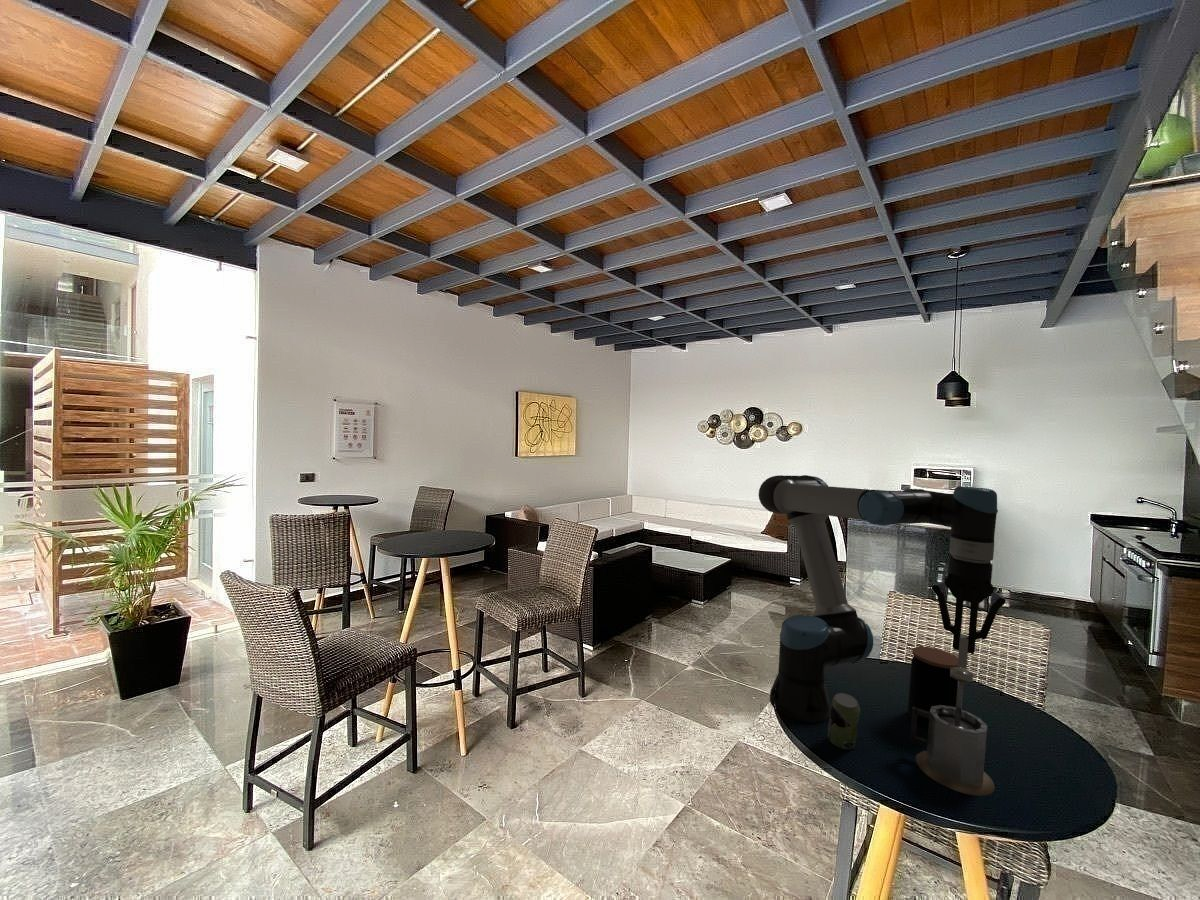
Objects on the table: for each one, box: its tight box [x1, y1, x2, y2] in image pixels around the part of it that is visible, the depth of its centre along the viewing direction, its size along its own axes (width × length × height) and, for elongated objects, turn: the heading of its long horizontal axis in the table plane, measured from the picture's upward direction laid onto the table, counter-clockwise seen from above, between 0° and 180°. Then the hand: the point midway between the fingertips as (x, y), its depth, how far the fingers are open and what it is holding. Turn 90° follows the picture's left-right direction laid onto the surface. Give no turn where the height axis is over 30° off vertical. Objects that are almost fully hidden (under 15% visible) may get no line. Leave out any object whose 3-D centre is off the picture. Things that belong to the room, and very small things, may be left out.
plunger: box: [940, 667, 976, 730], centre depth 106 cm, size 7×7×13 cm
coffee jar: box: [907, 646, 961, 730], centre depth 125 cm, size 11×11×18 cm
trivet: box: [915, 750, 995, 797], centre depth 106 cm, size 14×14×1 cm
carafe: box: [909, 705, 988, 789], centre depth 107 cm, size 13×10×12 cm
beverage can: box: [827, 692, 861, 750], centre depth 114 cm, size 6×7×12 cm
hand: (962, 665), depth 105 cm, fingers closed
